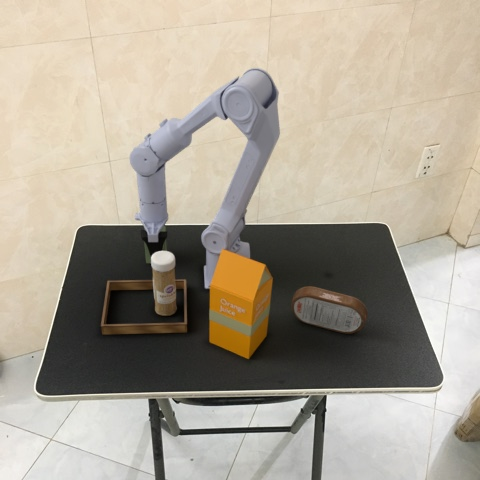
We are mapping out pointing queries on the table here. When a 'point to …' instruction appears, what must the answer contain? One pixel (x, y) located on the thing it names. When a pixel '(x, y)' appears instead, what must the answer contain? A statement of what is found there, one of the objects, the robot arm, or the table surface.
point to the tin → (329, 310)
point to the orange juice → (239, 303)
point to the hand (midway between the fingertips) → (156, 250)
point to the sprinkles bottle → (164, 282)
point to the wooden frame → (141, 327)
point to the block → (148, 257)
